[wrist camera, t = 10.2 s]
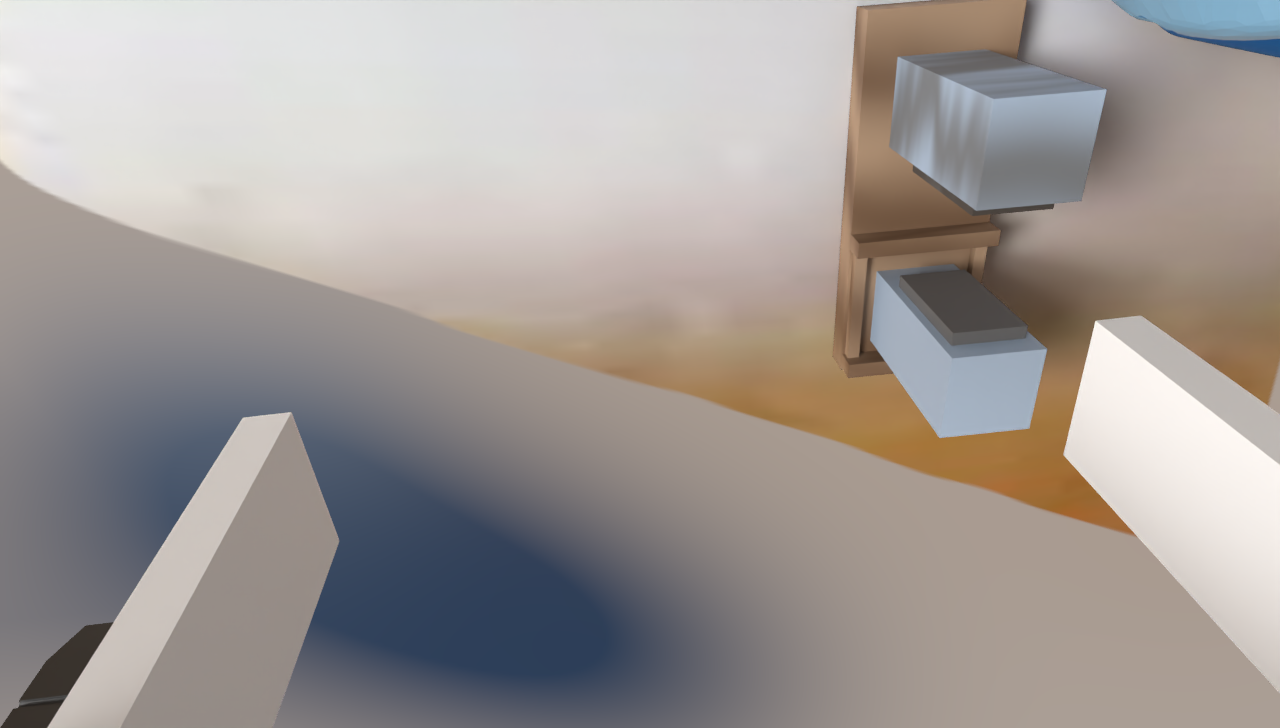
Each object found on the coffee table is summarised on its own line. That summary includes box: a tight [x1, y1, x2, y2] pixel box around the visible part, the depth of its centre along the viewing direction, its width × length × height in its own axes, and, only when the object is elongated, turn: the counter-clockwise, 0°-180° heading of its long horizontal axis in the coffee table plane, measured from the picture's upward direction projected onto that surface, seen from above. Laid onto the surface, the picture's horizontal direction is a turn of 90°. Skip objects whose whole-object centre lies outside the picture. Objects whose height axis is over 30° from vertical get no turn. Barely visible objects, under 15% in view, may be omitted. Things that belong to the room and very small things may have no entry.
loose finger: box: [870, 264, 1047, 438], centre depth 37 cm, size 5×4×9 cm
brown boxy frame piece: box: [833, 0, 1107, 378], centre depth 35 cm, size 18×7×10 cm, turn 4°
